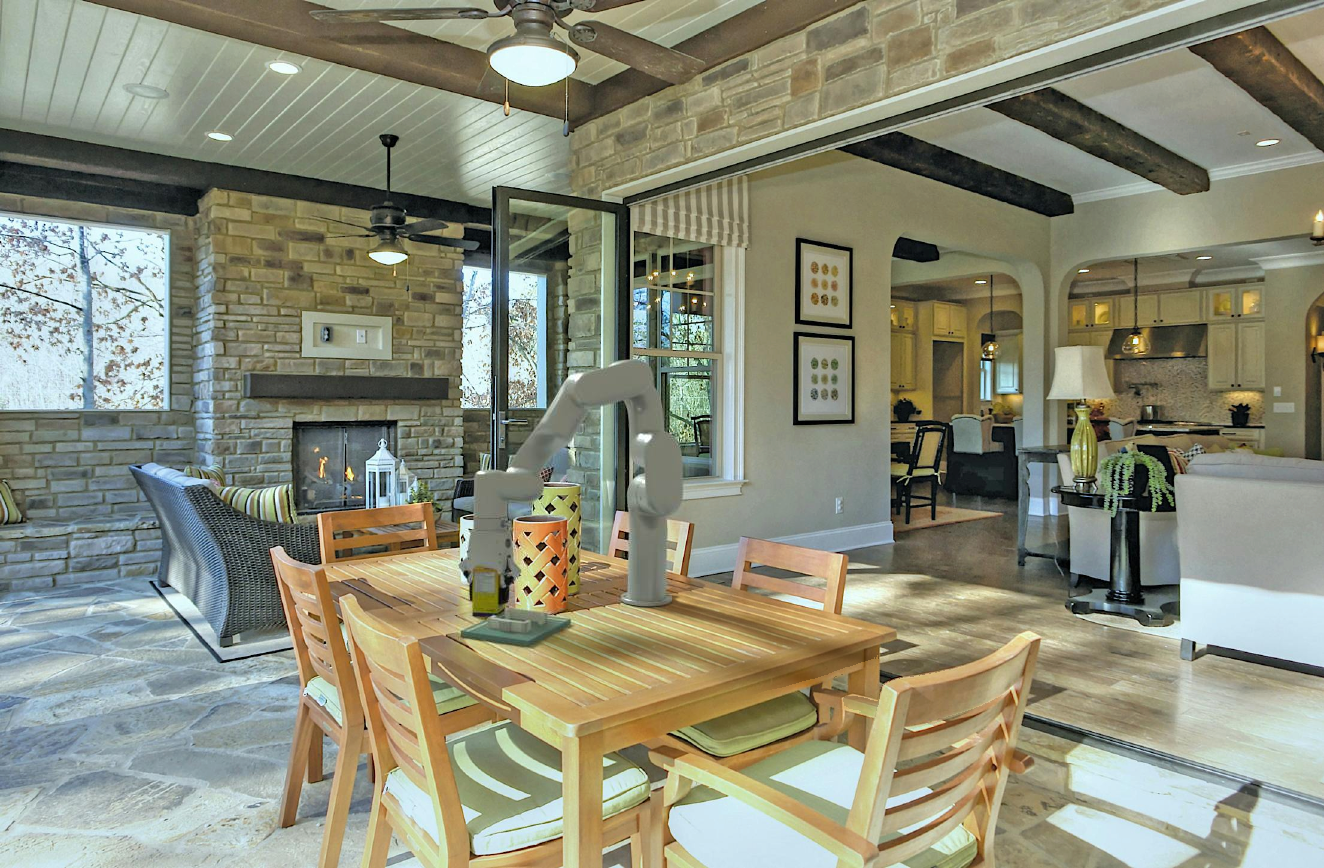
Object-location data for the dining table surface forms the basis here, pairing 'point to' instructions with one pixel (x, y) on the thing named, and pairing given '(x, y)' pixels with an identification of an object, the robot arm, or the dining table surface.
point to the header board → (516, 627)
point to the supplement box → (486, 592)
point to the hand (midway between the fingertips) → (489, 601)
